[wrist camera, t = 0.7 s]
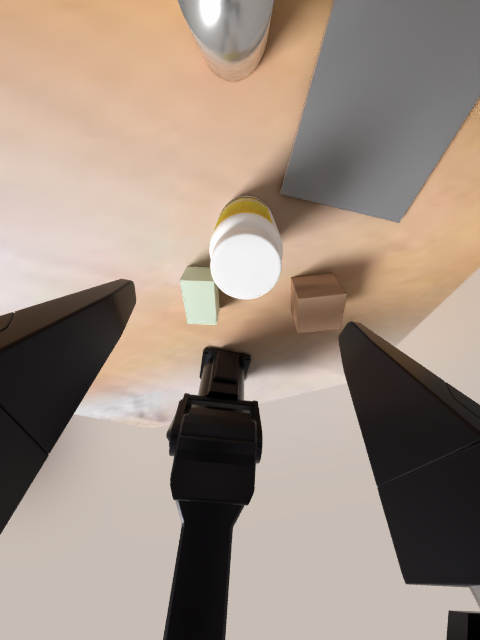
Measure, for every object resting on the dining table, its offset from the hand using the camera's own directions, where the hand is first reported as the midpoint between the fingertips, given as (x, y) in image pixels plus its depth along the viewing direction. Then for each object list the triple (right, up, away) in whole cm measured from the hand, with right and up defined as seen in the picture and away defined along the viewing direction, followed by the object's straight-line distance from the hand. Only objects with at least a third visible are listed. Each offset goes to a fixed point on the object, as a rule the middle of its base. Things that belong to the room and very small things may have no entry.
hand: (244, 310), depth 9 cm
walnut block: (+7, +3, +13) cm, 15 cm away
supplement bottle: (0, +8, +10) cm, 12 cm away
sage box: (-4, +3, +14) cm, 14 cm away
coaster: (+9, +13, +5) cm, 16 cm away
